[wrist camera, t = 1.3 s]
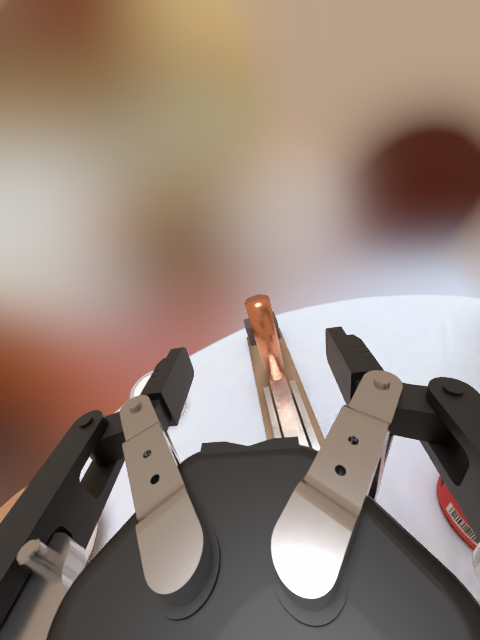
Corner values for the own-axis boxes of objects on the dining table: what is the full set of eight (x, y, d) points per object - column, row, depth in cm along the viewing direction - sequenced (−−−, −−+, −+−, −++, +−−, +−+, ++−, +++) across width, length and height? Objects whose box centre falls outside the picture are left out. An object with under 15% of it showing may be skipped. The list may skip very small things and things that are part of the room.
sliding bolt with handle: (279, 358, 40) (261, 280, 32) (318, 472, 26) (305, 385, 17) (263, 362, 41) (240, 286, 32) (292, 478, 26) (265, 395, 17)
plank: (280, 332, 48) (279, 328, 48) (342, 486, 25) (342, 483, 25) (248, 340, 49) (246, 337, 48) (280, 500, 26) (278, 497, 25)
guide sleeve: (297, 393, 35) (294, 379, 33) (330, 484, 25) (329, 472, 23) (267, 401, 35) (263, 387, 33) (289, 493, 25) (284, 482, 23)
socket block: (277, 328, 48) (273, 311, 45) (280, 338, 45) (276, 320, 43) (249, 336, 48) (243, 319, 46) (251, 346, 46) (245, 328, 43)
